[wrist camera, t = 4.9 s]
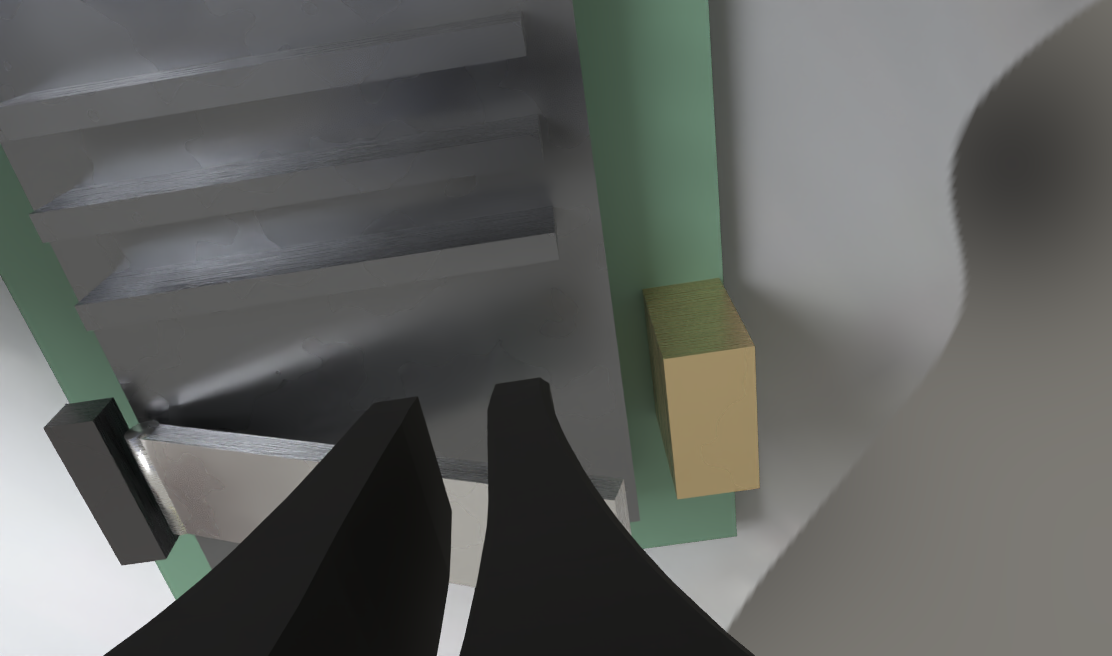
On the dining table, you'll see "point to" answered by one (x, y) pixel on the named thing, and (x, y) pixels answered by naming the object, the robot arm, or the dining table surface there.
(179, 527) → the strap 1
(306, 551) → the robot arm
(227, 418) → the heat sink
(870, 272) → the dining table surface
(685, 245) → the circuit board
